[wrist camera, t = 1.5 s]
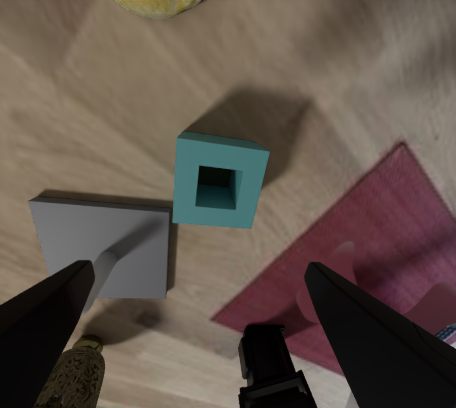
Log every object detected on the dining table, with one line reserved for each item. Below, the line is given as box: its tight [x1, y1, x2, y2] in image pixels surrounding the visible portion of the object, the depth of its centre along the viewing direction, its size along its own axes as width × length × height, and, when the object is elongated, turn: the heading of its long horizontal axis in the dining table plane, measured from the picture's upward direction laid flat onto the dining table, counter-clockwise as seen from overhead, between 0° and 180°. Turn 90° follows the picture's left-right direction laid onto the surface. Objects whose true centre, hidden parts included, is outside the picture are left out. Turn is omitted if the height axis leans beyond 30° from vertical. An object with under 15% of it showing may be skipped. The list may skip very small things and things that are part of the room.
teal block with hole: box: [173, 131, 270, 229], centre depth 17 cm, size 6×6×5 cm
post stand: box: [28, 197, 171, 316], centre depth 18 cm, size 12×12×7 cm
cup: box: [33, 336, 105, 408], centre depth 24 cm, size 8×7×8 cm
